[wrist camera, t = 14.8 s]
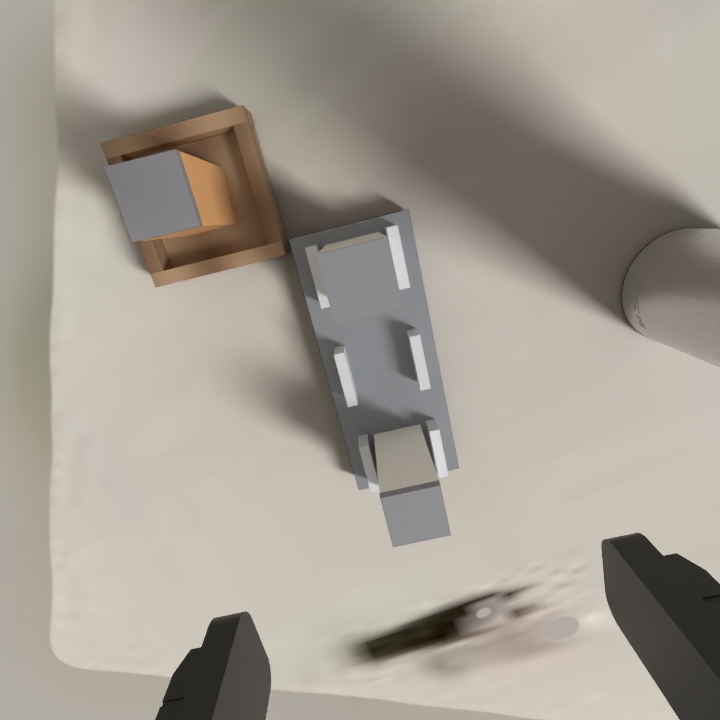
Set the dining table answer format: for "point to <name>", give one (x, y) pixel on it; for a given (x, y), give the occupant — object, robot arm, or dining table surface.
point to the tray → (246, 186)
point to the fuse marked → (171, 196)
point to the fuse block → (382, 366)
